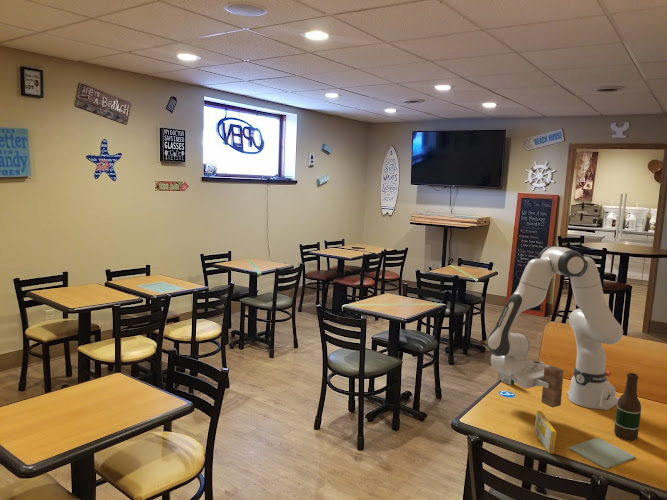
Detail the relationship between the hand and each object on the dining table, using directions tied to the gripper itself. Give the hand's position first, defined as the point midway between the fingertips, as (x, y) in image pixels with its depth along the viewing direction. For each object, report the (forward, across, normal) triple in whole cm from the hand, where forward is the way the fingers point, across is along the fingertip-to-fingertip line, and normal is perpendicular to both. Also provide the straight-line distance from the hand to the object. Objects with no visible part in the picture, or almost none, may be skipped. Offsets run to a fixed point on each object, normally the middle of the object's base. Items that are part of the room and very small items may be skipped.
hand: (554, 384), depth 191 cm
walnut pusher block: (-1, 0, +8) cm, 8 cm away
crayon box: (-39, +17, +17) cm, 46 cm away
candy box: (+7, -13, +17) cm, 22 cm away
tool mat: (+21, -1, +17) cm, 27 cm away
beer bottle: (+17, +19, +17) cm, 31 cm away
